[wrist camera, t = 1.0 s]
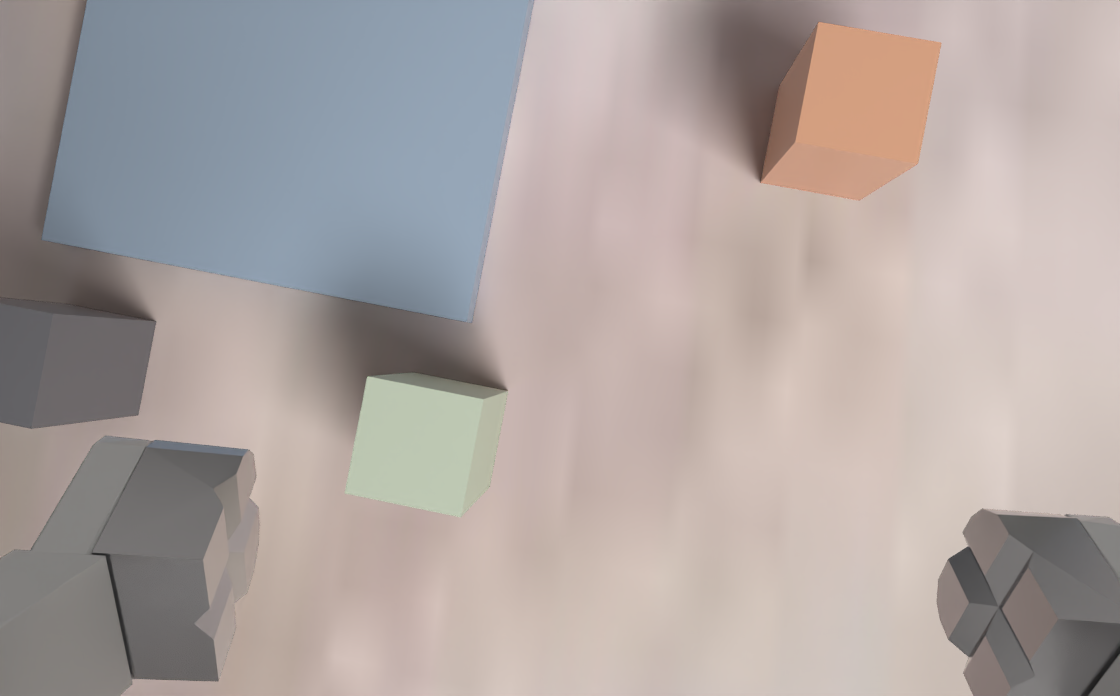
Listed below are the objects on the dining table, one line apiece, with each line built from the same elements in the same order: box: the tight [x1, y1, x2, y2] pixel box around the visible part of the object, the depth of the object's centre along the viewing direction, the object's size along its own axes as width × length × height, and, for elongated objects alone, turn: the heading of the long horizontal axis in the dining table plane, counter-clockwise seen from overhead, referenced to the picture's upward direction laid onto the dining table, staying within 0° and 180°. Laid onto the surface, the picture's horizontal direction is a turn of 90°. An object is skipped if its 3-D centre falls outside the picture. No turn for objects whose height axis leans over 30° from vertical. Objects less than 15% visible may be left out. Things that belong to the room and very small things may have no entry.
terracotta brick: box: [760, 22, 941, 201], centre depth 38 cm, size 4×4×8 cm
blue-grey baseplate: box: [41, 0, 534, 323], centre depth 42 cm, size 20×20×2 cm
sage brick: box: [345, 372, 508, 517], centre depth 39 cm, size 4×4×8 cm
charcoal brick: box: [0, 298, 156, 429], centre depth 40 cm, size 4×4×8 cm
